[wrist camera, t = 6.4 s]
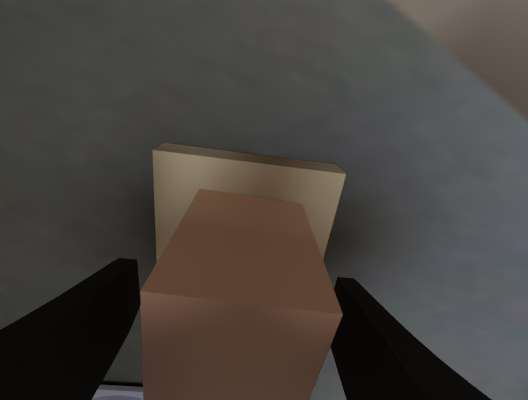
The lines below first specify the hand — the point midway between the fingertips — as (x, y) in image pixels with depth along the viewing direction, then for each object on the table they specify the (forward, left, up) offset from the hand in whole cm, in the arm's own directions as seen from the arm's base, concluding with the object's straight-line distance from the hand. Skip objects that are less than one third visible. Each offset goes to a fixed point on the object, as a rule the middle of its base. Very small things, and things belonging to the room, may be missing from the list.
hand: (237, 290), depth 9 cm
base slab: (0, 0, -5) cm, 5 cm away
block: (0, 0, -3) cm, 3 cm away
